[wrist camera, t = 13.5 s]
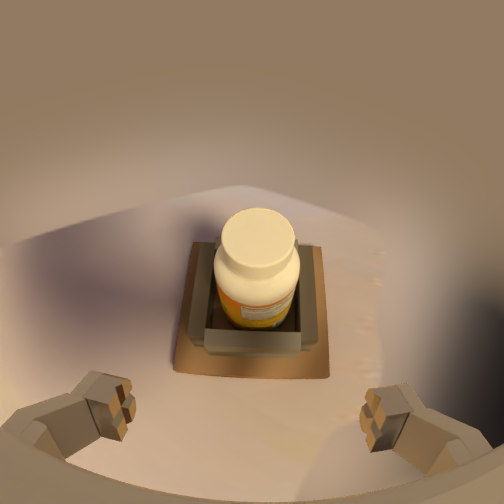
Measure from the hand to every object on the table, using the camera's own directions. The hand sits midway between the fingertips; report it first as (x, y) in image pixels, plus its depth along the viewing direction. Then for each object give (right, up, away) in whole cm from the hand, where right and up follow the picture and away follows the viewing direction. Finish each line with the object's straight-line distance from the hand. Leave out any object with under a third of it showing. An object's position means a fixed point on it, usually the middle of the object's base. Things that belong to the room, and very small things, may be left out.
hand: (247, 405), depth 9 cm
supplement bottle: (0, +1, +15) cm, 15 cm away
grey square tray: (0, 0, +16) cm, 16 cm away
